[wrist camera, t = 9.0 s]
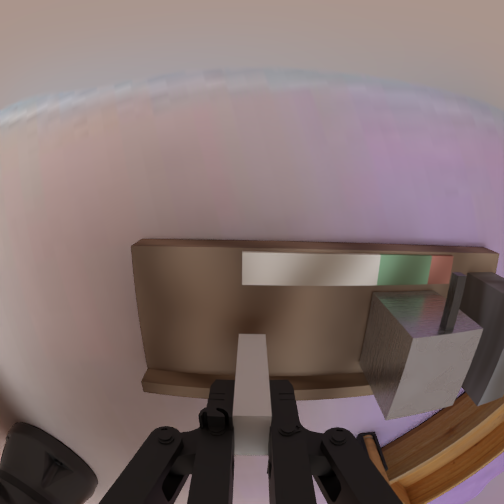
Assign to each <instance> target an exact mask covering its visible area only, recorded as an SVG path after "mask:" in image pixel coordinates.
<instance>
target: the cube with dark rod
mask: <svg viewBox="0 0 504 504" xmlns="http://www.w3.org/2000/svg"><path fill="white" fill-rule="evenodd" d="M466 277H467V276H466V275H464V274H463V273H461V272H452V275H451V280H450V285H449V290H448V294H447V299H445V298H444V297H443V296H441V295H440V294H439V293H437V292H436V291H435V290H429V291H401V292H373V294H372V300H371V306H370V312H369V317H368V323H367V328H366V333H365V338H364V343H363V347H362V352H361V357H360V361H359V365H360V367H361V369H362V371H363V373H364V375H365V377H366V379H367V381H368V384H369V386H370V388H371V390H372V392H373V394H374V396H375V398H376V400H377V403H378V405H379V407H380V409H381V411H382V413H383V415H384V418H385V420H390V419H396V418H401V417H406V416H411V415H416V414H420V413H425V412H429V411H433V410H437V409H441V408H445V407H448V406H452V405H453V403H454V401H455V399H456V397H457V395H458V393H459V391H460V388H461V386H462V384H463V382H464V379H465V377H466V374H467V372H468V370H469V367H470V365H471V362H472V359H473V357H474V354H475V351H476V349H477V346H478V343H479V340H480V337H481V334H482V331H483V328H482V327H481V326H480V325H478V324H477V323H476V322H475V321H473V320H472V319H471V318H470V317H468V316H467V315H466V314H465V313H463V312H462V311H461V310H460V309H459V308H460V304H461V300H462V296H463V291H464V287H465V282H466Z"/></svg>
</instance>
